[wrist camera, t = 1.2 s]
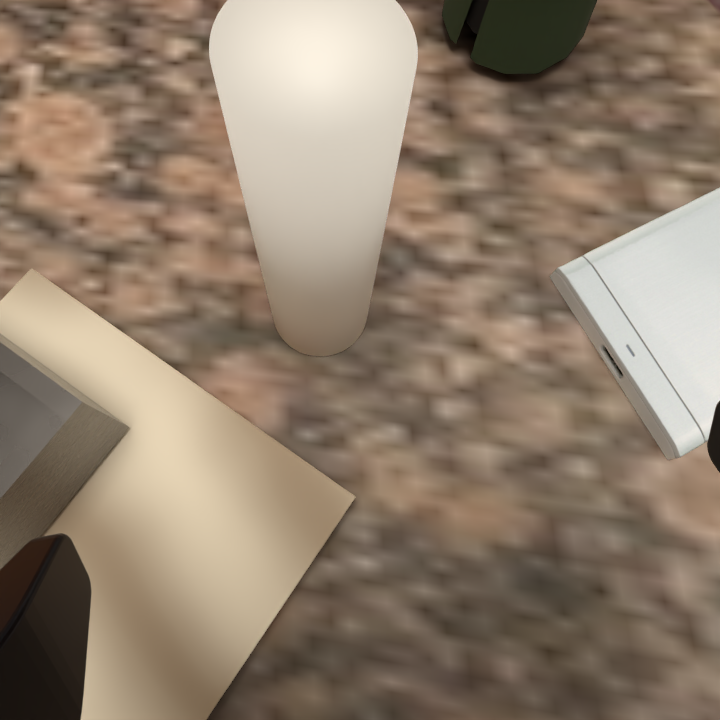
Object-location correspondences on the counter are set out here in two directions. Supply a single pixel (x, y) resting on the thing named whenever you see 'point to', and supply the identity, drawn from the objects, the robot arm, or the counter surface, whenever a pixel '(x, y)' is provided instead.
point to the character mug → (519, 31)
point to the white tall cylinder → (315, 149)
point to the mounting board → (171, 518)
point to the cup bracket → (43, 445)
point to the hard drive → (657, 318)
